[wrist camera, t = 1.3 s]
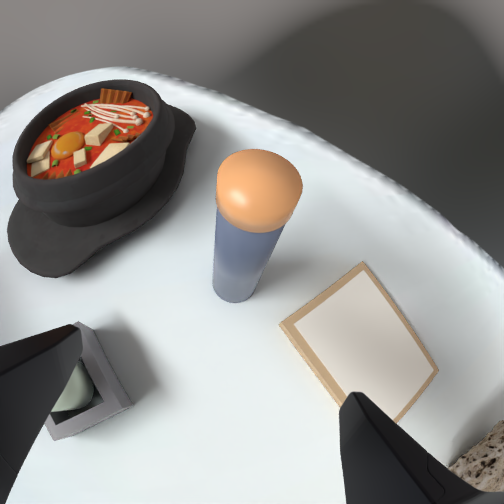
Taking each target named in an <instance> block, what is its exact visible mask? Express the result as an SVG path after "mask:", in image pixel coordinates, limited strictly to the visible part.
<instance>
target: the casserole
mask: <svg viewBox="0 0 504 504" xmlns="http://www.w3.org/2000/svg"><path fill="white" fill-rule="evenodd" d="M195 130H196V127H195V122H194V120H193V119H192V118H191V117H190V116H189V115H188V114H186V113H185V112H183V111H182V110H180V109H178V108H176V107H173V106H171V105H168V104H166V103H165V102H164V101H163V100H162V99H161V97H160V96H159V94H158V93H157V92H156V91H155V90H154V89H153V88H152V87H150V86H148V85H147V84H144V83H141V82H138V81H133V80H108V81H101V82H97V83H93V84H89V85H86V86H83V87H80V88H78V89H75V90H73V91H71V92H69V93H67V94H65V95H63V96H62V97H60V98H58V99H57V100H55V101H53V102H52V103H51V104H49V105H48V106H47V107H45V108H44V109H43V110H42V111H41V112H39V113H38V114H37V115H36V116H35V117H34V118H33V119H32V120H31V122H30V123H29V124H28V125H27V126H26V128H25V129H24V131H23V132H22V134H21V135H20V137H19V139H18V141H17V143H16V146H15V149H14V153H13V170H14V171H13V187H14V190H15V193H16V196H17V197H18V198H19V200H18V202H17V204H16V205H15V207H14V209H13V211H12V213H11V216H10V218H9V222H8V227H7V233H8V242H9V244H10V247H11V250H12V252H13V254H14V256H15V257H16V258H17V260H18V261H19V263H20V264H21V265H23V266H24V267H25V268H26V269H28V270H29V271H30V272H32V273H35V274H37V275H40V276H42V277H50V278H58V277H61V276H64V275H67V274H70V273H72V272H73V271H74V270H75V269H77V268H78V267H79V266H81V265H82V264H83V263H84V262H86V261H87V260H88V259H89V258H90V257H91V256H93V255H94V254H95V253H96V252H97V251H99V250H100V249H101V248H103V247H105V246H107V245H109V244H110V243H112V242H114V241H116V240H118V239H120V238H121V237H123V236H125V235H127V234H129V233H131V232H133V231H135V230H137V229H138V228H139V227H141V226H142V225H143V224H145V223H146V222H147V221H149V220H150V219H151V218H153V217H154V216H155V215H156V214H157V213H158V212H159V211H160V210H161V209H162V207H163V206H164V205H165V204H166V203H167V202H168V201H169V199H170V198H171V196H172V195H173V193H174V192H175V190H176V189H177V187H178V185H179V182H180V180H181V178H182V175H183V171H184V164H185V158H186V152H187V147H188V145H189V143H190V141H191V138H192V136H193V134H194V132H195Z"/></svg>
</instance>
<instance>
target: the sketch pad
mask: <svg viewBox="0 0 504 504" xmlns="http://www.w3.org/2000/svg"><path fill="white" fill-rule="evenodd" d="M279 326H280V327H281V329H282V330H283V331H284V333H285V334H286V335H287V337H288V338H289V340H290V341H291V342H292V344H293V345H294V346H295V348H296V349H297V350H298V352H299V353H300V355H301V356H302V357H303V359H304V360H305V361H306V363H307V364H308V365H309V367H310V368H311V369H312V371H313V372H314V373H315V375H316V376H317V377H318V379H319V380H320V381H321V383H322V384H323V385H324V387H325V388H326V389H327V391H328V392H329V393H330V395H331V396H332V397H333V399H334V400H335V401H336V403H337V404H338V405H339V407H341V406H342V404H343V403H344V401H345V399H346V398H347V396H348V395H349V393H350V392H353V391H355V392H363V393H364V394H365V395H366V396H367V397H368V398H369V399H370V400H372V401H373V402H374V403H375V404H376V405H377V406H378V407H379V408H380V409H381V410H382V411H383V412H384V413H385V414H387V415H388V416H389V417H390V418H391V419H392V420H393V421H394V422H395V423H397V422H398V421H399V420H400V419H401V418H402V417H403V416H404V414H405V413H406V412H407V411H408V410H409V409H410V407H411V406H412V405H413V404H414V403H415V401H416V400H417V399H418V398H419V396H420V395H421V394H422V393H423V391H424V390H425V389H426V387H427V386H428V385H429V383H430V382H431V381H432V379H433V378H434V377H435V375H436V374H437V372H438V371H439V370H438V368H437V366H436V365H435V363H434V362H433V360H432V358H431V357H430V355H429V354H428V352H427V351H426V349H425V348H424V346H423V344H422V343H421V341H420V340H419V338H418V337H417V335H416V334H415V332H414V331H413V329H412V328H411V327H410V325H409V324H408V322H407V321H406V319H405V318H404V316H403V315H402V314H401V312H400V311H399V309H398V308H397V306H396V305H395V304H394V302H393V301H392V300H391V298H390V297H389V295H388V294H387V293H386V291H385V290H384V289H383V287H382V286H381V285H380V283H379V282H378V281H377V279H376V278H375V277H374V275H373V274H372V273H371V271H370V270H369V269H368V267H367V266H366V265H365V264H364V262H363V261H362V262H361V263H360V264H358V265H357V266H356V267H355V268H353V269H352V270H351V271H349V272H348V273H347V274H346V275H344V276H343V277H342V278H341V279H339V280H338V281H337V282H335V283H334V284H333V285H331V286H330V287H329V288H327V289H326V290H325V291H324V292H322V293H321V294H320V295H318V296H317V297H316V298H314V299H313V300H311V301H310V302H309V303H307V304H306V305H305V306H303V307H302V308H300V309H299V310H298V311H296V312H295V313H294V314H292V315H291V316H289V317H288V318H286V319H285V320H284V321H282V322H281V323H280V324H279Z"/></svg>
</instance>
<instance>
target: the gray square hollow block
mask: <svg viewBox="0 0 504 504" xmlns="http://www.w3.org/2000/svg"><path fill="white" fill-rule="evenodd" d="M73 325H74V326H76V327H79V328H80V329H81V333H82V342H83V352H82V355H81V358H82V360H83V362H84V364H85V366H86V368H87V370H88V372H89V374H90V376H91V378H92V380H93V382H94V384H95V386H96V388H97V390H98V392H99V394H100V395H101V397H102V399H103V401H104V402H102V403H100V404H98V405H96V406H94V407H92V408H91V409H89V410H87V411H85V412H83V413H81V414H78V415H76V416H74V417H72V418H70V416H69V414H68V413H67V411H66V410H64V411H54V412H51V413H50V414H49V416H48V418H47V420H46V421H45V423H44V424H45V426H46V427H47V429H48V431H49V433H50V435H51V437H52V439H53V440H54V441H56V440H60V439H63V438H67V437H70V436H73V435H75V434H77V433H79V432H81V431H83V430H86V429H88V428H90V427H92V426H94V425H96V424H98V423H100V422H102V421H104V420H106V419H108V418H110V417H112V416H114V415H116V414H118V413H120V412H122V411H124V410H126V409H128V408H130V407H132V406H133V404H132V402H131V401H130V399H129V397H128V396H127V394H126V392H125V391H124V389H123V387H122V385H121V384H120V382H119V380H118V378H117V377H116V375H115V373H114V371H113V369H112V367H111V365H110V363H109V362H108V360H107V358H106V356H105V354H104V352H103V350H102V348H101V346H100V343H99V341H98V339H97V337H96V335H95V333H94V331H93V329H91V328H89V327H87V326H86V325H84V324H82V323H80V322H79V321H78V322H76V323H75V324H73Z"/></svg>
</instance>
